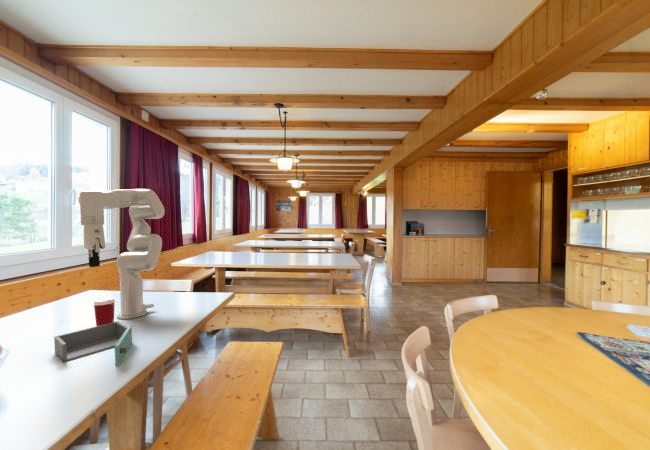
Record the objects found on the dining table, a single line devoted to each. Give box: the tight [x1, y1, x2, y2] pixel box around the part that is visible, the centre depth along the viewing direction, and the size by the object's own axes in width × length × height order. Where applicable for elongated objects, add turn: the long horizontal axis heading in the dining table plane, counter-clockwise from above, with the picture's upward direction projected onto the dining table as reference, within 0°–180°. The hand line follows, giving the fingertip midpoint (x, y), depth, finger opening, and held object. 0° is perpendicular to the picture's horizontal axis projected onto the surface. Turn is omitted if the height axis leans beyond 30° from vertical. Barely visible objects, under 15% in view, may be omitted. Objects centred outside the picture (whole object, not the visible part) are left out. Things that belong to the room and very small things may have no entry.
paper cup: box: [92, 297, 116, 327], centre depth 131 cm, size 8×8×14 cm
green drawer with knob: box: [114, 325, 133, 367], centre depth 110 cm, size 21×3×6 cm, turn 22°
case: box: [53, 321, 128, 363], centre depth 115 cm, size 20×12×6 cm, turn 141°
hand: (94, 266), depth 124 cm, fingers closed
